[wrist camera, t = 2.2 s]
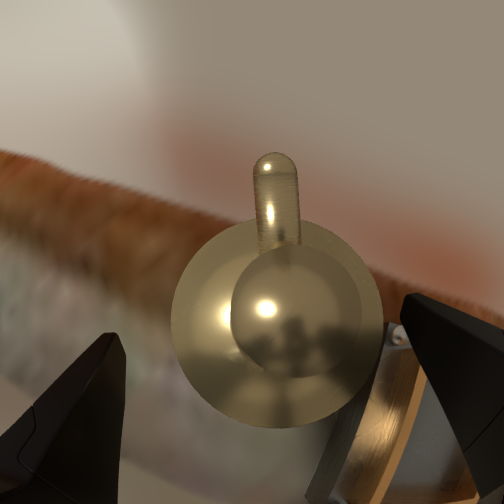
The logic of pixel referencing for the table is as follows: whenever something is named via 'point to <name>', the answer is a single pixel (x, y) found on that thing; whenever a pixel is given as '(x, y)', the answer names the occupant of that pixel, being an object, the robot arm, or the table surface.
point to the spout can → (277, 313)
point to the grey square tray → (393, 440)
